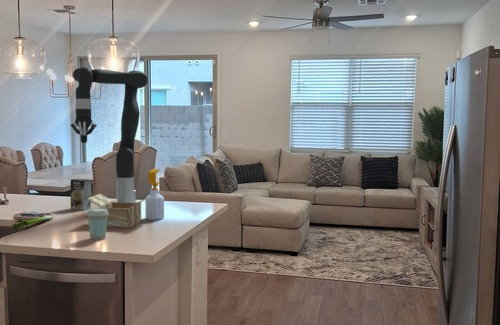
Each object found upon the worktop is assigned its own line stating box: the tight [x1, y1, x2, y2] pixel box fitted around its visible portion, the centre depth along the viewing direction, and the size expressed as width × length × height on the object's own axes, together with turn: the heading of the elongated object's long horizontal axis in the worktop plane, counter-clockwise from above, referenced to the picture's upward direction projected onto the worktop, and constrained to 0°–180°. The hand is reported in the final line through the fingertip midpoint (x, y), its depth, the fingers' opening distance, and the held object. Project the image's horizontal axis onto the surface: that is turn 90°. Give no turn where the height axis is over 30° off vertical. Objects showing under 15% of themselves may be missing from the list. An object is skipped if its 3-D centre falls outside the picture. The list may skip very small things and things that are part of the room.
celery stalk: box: [11, 215, 54, 232], centre depth 230 cm, size 6×7×30 cm
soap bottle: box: [144, 168, 165, 221], centre depth 250 cm, size 9×9×25 cm
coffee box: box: [70, 178, 92, 211], centre depth 273 cm, size 9×6×16 cm
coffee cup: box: [86, 207, 108, 241], centre depth 208 cm, size 8×8×12 cm
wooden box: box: [99, 201, 142, 229], centre depth 236 cm, size 17×14×9 cm
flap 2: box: [129, 195, 153, 208], centre depth 235 cm, size 15×1×7 cm
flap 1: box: [87, 193, 113, 208], centre depth 237 cm, size 15×1×7 cm
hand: (84, 142), depth 253 cm, fingers closed
